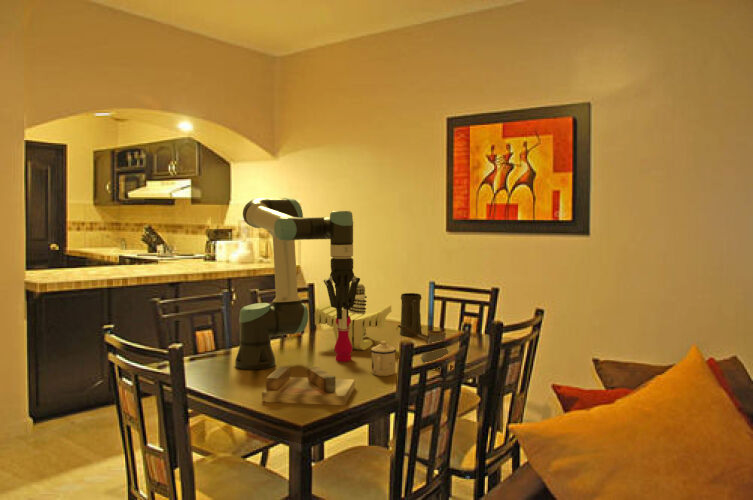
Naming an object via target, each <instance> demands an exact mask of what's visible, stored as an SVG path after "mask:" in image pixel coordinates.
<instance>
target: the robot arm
mask: <svg viewBox="0 0 753 500" xmlns="http://www.w3.org/2000/svg"><path fill="white" fill-rule="evenodd" d="M353 215H354V214H353V212H352V211H350V210H333V211H331V212H330V214H329V216H327V217H326V216H324V217H323V216H321V217H320V216H319V217H316V216H315V217H313V216H312V217H307V216H306V217H304V213H303V209H302V206H301V204H300V203H299V202H298V200H296V199H294V198H287V197H279V198H278V197H257V198H254V199H251V200H249V201H248V202H247V203H246V204H245V205H244V207H243V209H242V218H243V221H244V222H245V223H246V224H247V225H248V226H250V227H252V228H255V229H264V230H266V231H268V235H270V236H271V237H272V246H273V251H272V252H273V266H274V283H275V284H274V287H275V298H274V299H273V300H272V305H271V303H268V302H258V303H257V302H256V303H252V304H248V305H245V306H243V307H242V308H241V309H240V310H239V319H238V322H239V324H238V325H239V348H238V349H237V354H236V356H235V360H234V361H235V362H234V363H235V365H234V366H235V368H237V367H238V368H237V369H239V368H241V369H240V370H245V369H248V370H250V371H253V370H254V371H255V370H265V369H270V368H272V367H274V366H276V357H275V354H274V351H273V348H272V343H271V338H272V337H280V336H285V335H286V336H287V335H295V334H300V333H303V332H304V331H305V330H306V328H307V327H308V321H309V310H308V306H307V304H305V303H303V301H302V300H303V299H302V298H301V297H300V296H299V294H298V281H297V280H298V279H297V278H298V277H297V262H296V261H297V258H296V245H295V244H296V242H295V241H298V240H299V241H301V240H303V241H305V240H308V241H309V240H330V253H329V254H330V255H329V256H330V257H331V258H330V273H329V277H328V278H327V279H324V280H323V283H324V285H325V286H326V290H327V294H328V298H329V303H330V304H331V307H333V308H336V310H337V319H339V328H340V329H347V318H348V317H349V312H348V311H349V310H348V309H350V307H351V306H354V301H355V296H356V291H357V286H358V284H360V281H361V278H360V277H357V276H355V273H354V258H352V257H353V256H354V219H353ZM349 288H350V291H349ZM248 370H247V371H248Z"/></svg>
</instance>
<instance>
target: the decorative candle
mask: <svg viewBox="0 0 753 500" xmlns="http://www.w3.org/2000/svg"><path fill="white" fill-rule="evenodd" d="M349 291H350V288H349ZM366 299H367V296H366V287H365V285H364V284H361V283H358V286H357V291H356V296H355V301H354V306H351V307H350V309H348V312H349V313H353V315H354V314H363V315H364V314H367V313H366V312H367V311H366V310H367V308H366V306H367V302H368V301H367V300H366ZM366 331H367V330H365V332H364V335H363V339H366V337H367V336H366V334H367V332H366Z"/></svg>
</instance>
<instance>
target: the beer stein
mask: <svg viewBox="0 0 753 500" xmlns="http://www.w3.org/2000/svg"><path fill="white" fill-rule="evenodd" d="M400 300H401V307H400V308H401V312H400V326H402V327H405V328H407V329H410V330H412V331H414V332H416V333H417V334H419V335H421V336H423V335H422V334H423V331H422V323H421V322H422V319H421V316H422V315H421V301H422V294H420V293H415V292H414V293H413V292H410V293H408V292H406V293H401V295H400ZM399 328H400V327H399ZM399 335H400V336H404V337H417V336H416V335H414V334H411V333H409V332H407V331H406V330H404V329H402V328H400V330H399Z"/></svg>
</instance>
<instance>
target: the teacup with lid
mask: <svg viewBox="0 0 753 500" xmlns="http://www.w3.org/2000/svg"><path fill="white" fill-rule="evenodd" d="M370 351H371V374H372V375H374V376H378V377H379V376H380V377H388V376H393V375H394V374H395V373H396V351H397V350H396V348H395V347H394V346H391V345H390V344H388V343H387V342H386V341H385V340H383V341H380V344H377V345H375V346H373V347H371V350H370Z"/></svg>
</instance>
